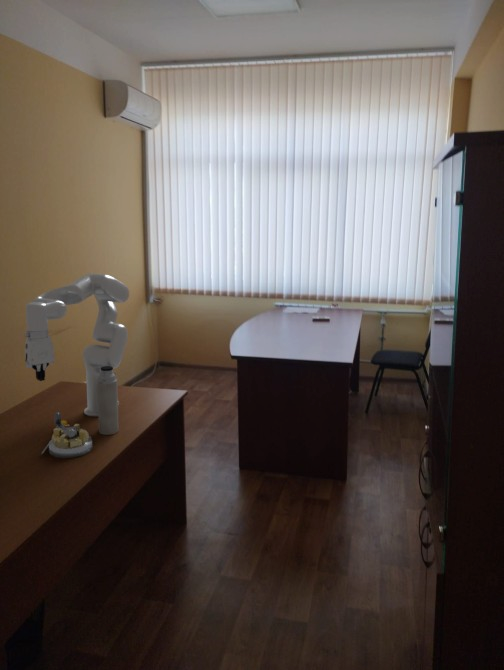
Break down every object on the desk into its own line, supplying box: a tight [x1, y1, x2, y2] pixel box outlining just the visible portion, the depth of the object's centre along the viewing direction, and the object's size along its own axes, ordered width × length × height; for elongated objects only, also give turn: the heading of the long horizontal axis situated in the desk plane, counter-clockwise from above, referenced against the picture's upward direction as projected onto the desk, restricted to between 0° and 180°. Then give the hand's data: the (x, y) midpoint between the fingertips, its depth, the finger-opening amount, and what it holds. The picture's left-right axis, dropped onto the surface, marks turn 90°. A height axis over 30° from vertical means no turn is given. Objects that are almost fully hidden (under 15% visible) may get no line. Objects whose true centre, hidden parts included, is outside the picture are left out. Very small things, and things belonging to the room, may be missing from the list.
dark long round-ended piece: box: [51, 411, 90, 448], centre depth 211 cm, size 23×13×6 cm, turn 37°
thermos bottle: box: [97, 366, 120, 436], centre depth 223 cm, size 8×8×28 cm
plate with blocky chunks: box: [48, 423, 93, 459], centre depth 208 cm, size 16×18×8 cm
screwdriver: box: [39, 419, 68, 456], centre depth 215 cm, size 3×3×30 cm
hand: (40, 379), depth 210 cm, fingers closed
